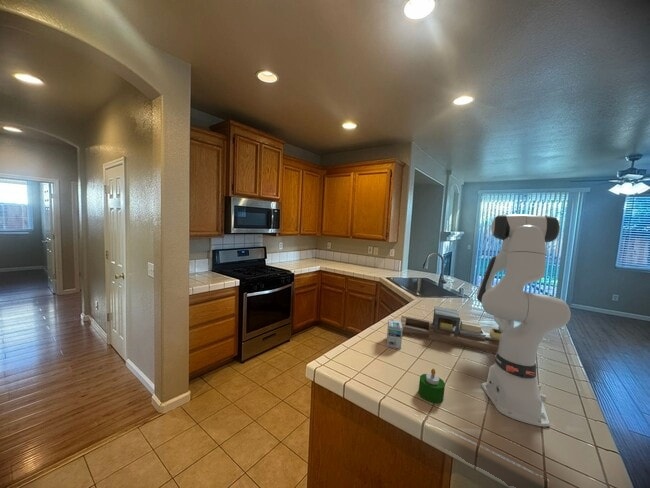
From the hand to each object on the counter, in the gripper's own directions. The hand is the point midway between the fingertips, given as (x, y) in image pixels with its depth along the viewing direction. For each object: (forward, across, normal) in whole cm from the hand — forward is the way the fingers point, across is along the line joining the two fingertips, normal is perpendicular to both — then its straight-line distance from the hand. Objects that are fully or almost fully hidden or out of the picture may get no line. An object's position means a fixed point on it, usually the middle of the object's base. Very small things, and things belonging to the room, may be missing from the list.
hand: (501, 335), depth 133 cm
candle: (+7, -59, +35) cm, 69 cm away
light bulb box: (+7, -24, +52) cm, 57 cm away
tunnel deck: (+7, 0, +24) cm, 25 cm away
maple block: (+3, 0, +14) cm, 15 cm away
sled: (+2, 0, +14) cm, 14 cm away
